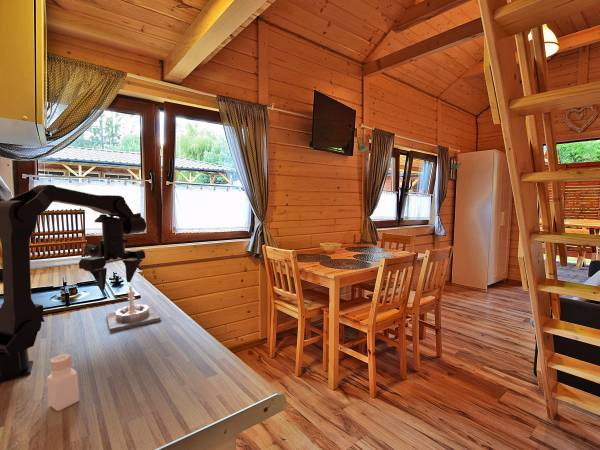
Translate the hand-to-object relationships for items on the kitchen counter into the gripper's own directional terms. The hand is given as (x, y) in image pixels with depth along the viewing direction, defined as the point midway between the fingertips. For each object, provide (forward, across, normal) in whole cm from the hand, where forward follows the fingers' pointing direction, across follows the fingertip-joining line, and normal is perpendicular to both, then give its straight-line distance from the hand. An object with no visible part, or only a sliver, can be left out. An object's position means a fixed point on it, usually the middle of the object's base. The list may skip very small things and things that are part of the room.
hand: (116, 285), depth 97 cm
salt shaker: (+13, +31, +23) cm, 41 cm away
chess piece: (+11, -4, +1) cm, 12 cm away
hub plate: (+12, -5, +1) cm, 13 cm away
